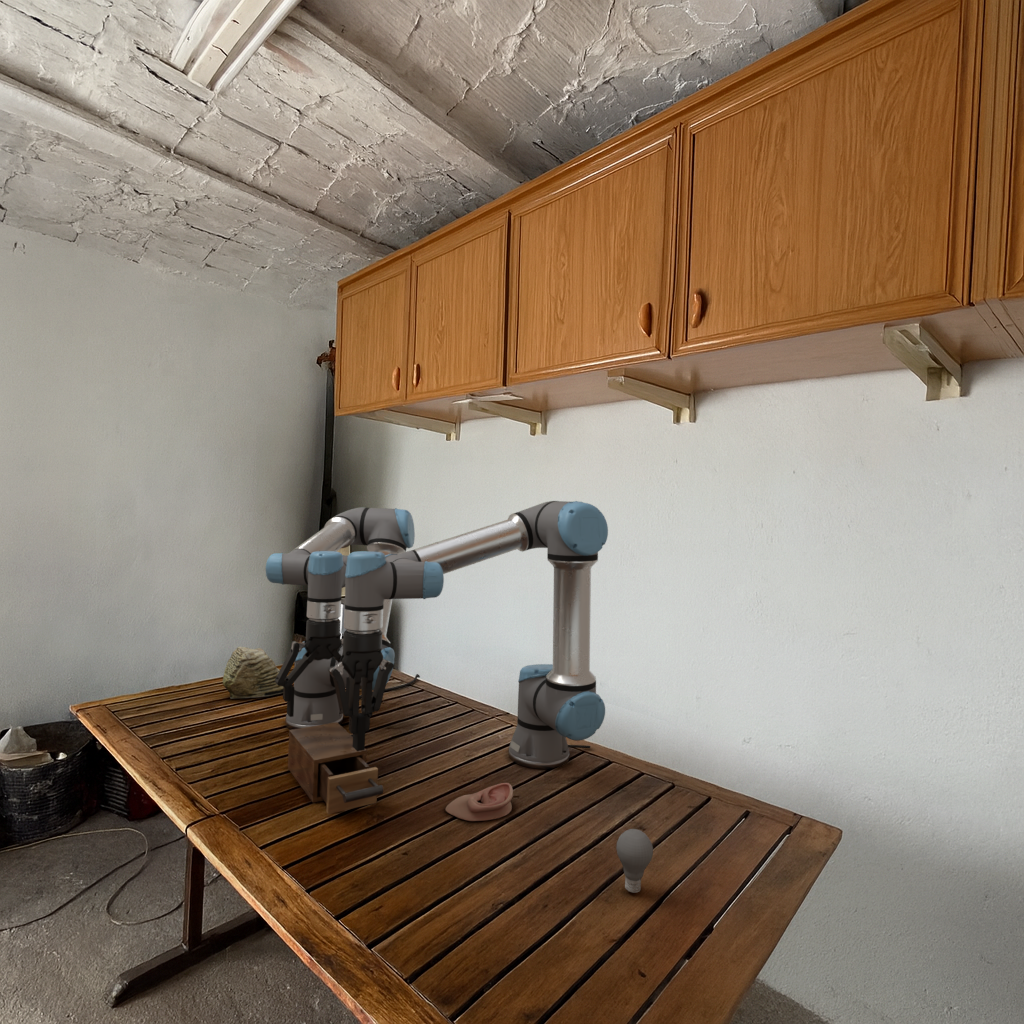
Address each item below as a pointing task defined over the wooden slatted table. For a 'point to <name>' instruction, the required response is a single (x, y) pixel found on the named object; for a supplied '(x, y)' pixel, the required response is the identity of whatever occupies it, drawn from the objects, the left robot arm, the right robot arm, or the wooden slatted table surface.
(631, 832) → the light bulb
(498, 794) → the anatomical model
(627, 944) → the wooden slatted table surface
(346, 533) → the left robot arm
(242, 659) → the fossil
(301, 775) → the cabinet
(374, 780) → the drawer
